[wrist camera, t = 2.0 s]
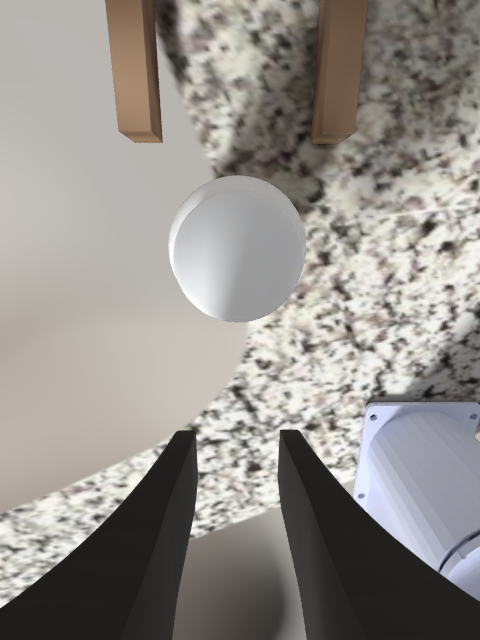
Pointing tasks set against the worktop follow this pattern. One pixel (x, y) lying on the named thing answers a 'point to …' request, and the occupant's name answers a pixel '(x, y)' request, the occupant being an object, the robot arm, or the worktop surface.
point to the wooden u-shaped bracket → (330, 74)
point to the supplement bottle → (237, 248)
